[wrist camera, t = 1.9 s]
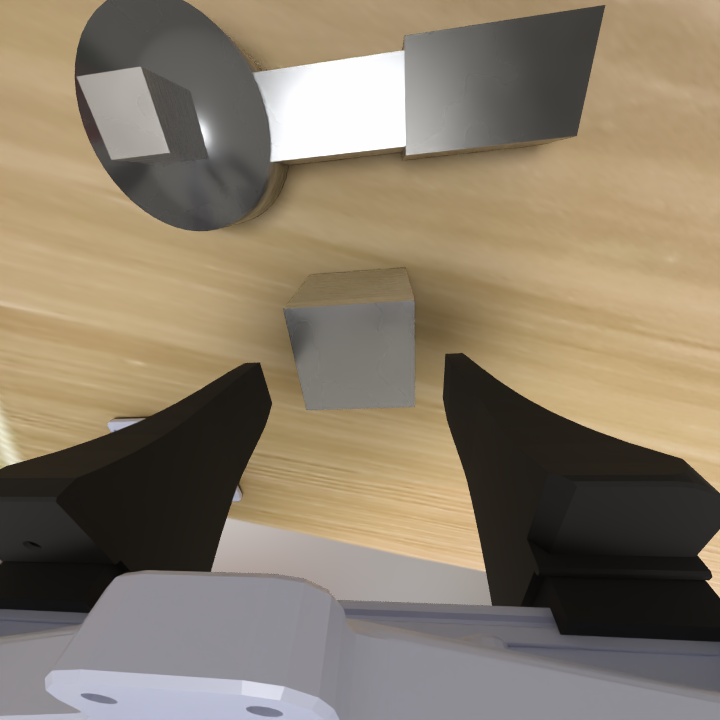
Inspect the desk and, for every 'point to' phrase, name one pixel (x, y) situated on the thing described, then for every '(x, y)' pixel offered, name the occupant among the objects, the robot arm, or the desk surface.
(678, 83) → the desk surface
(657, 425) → the desk surface
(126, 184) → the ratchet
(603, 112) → the desk surface
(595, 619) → the robot arm
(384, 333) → the grey block
